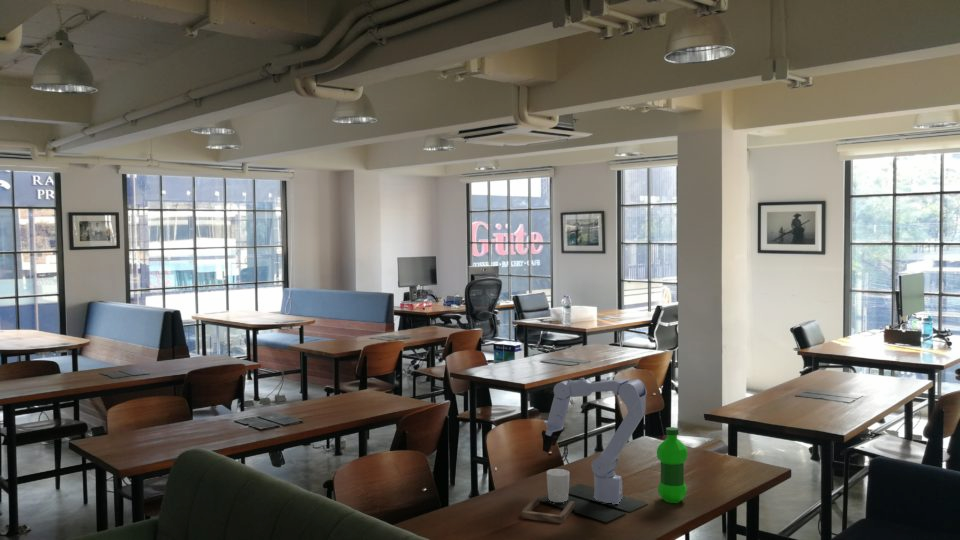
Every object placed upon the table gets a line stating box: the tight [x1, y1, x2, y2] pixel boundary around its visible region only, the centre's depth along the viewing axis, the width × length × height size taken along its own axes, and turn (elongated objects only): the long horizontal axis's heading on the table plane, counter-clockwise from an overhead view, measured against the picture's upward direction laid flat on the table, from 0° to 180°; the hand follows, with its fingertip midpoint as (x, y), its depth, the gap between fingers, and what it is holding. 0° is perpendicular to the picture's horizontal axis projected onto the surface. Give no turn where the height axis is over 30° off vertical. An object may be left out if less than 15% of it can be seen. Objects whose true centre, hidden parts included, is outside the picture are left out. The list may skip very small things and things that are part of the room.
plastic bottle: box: [656, 426, 689, 504], centre depth 266 cm, size 10×10×25 cm
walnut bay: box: [521, 496, 576, 524], centre depth 257 cm, size 14×16×2 cm
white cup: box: [546, 468, 570, 502], centre depth 268 cm, size 8×8×10 cm
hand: (548, 448), depth 279 cm, fingers open, 7 cm apart
